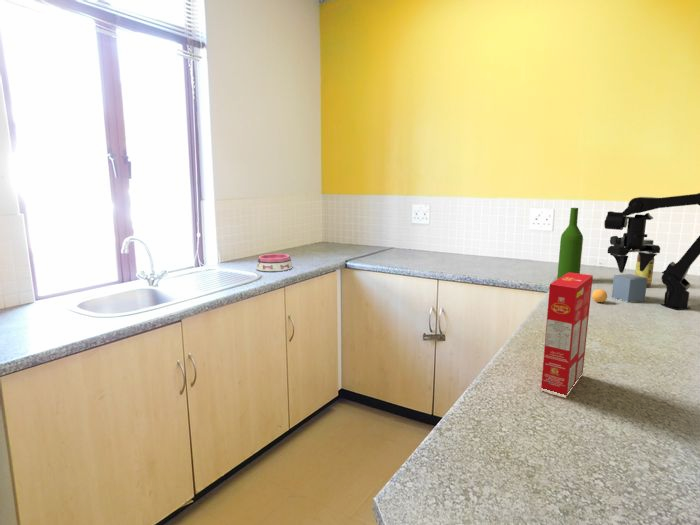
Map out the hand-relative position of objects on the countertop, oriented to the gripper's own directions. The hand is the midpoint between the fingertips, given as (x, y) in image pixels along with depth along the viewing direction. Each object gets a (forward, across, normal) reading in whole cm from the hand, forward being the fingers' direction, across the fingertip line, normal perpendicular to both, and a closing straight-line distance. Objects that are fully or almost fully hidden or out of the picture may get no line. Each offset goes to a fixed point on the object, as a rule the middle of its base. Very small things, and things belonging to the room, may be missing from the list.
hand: (631, 271), depth 174 cm
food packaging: (+11, +72, +55) cm, 91 cm away
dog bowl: (+10, +128, -92) cm, 158 cm away
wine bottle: (+11, +2, -31) cm, 33 cm away
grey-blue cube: (+11, 0, 0) cm, 11 cm away
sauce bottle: (+11, -22, -15) cm, 29 cm away
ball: (+8, +14, +1) cm, 16 cm away
